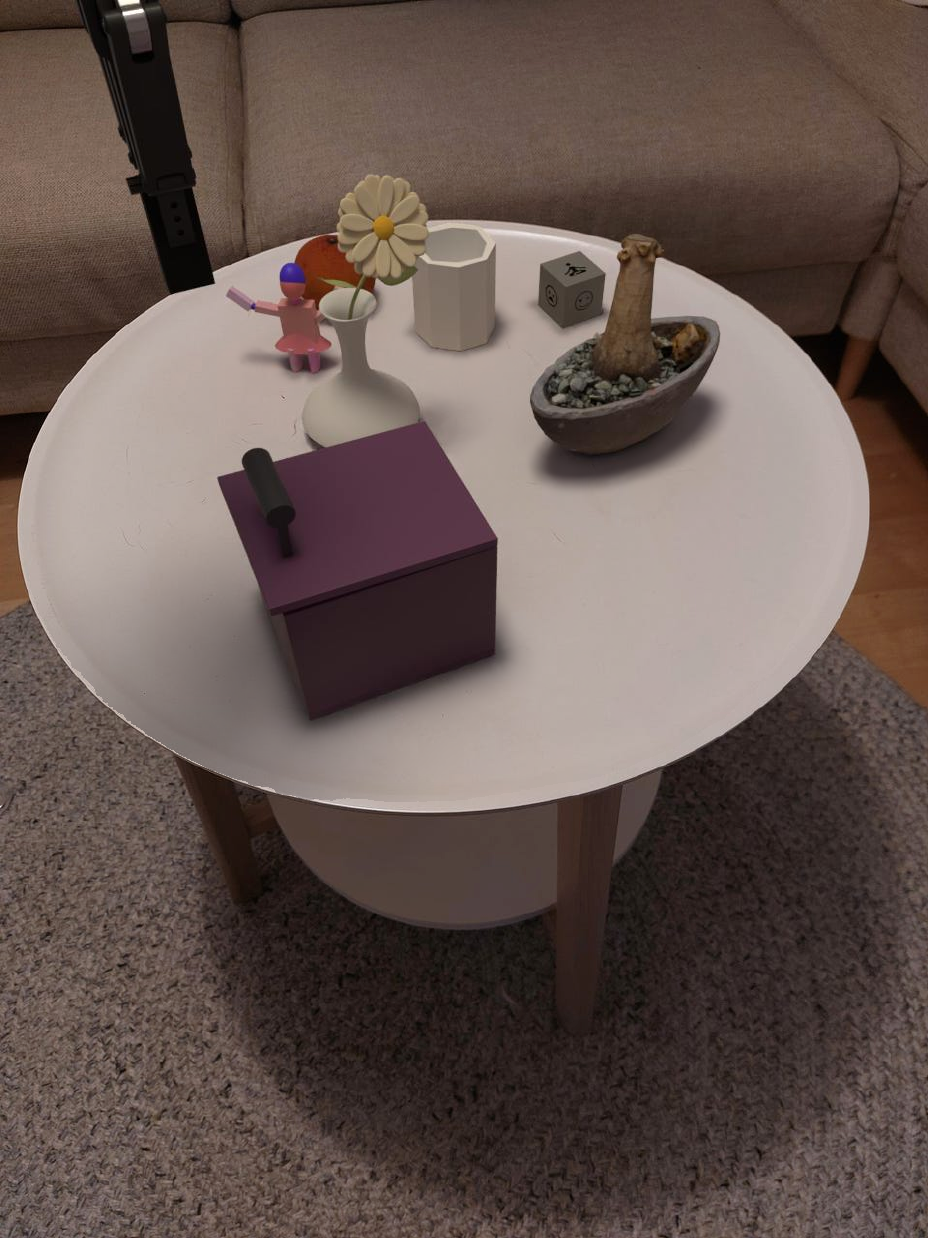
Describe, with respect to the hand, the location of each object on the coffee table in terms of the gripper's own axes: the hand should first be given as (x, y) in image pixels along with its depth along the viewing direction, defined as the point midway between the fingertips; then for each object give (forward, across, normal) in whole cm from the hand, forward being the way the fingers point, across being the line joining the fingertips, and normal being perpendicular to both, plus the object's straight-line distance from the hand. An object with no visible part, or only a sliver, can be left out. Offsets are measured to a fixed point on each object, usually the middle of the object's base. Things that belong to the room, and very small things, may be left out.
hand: (190, 282), depth 58 cm
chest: (+30, +6, +7) cm, 32 cm away
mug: (+31, -31, +29) cm, 53 cm away
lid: (+17, +6, +7) cm, 19 cm away
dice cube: (+31, -27, +42) cm, 58 cm away
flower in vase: (+31, -18, +15) cm, 39 cm away
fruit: (+31, -39, +19) cm, 53 cm away
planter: (+31, -7, +36) cm, 48 cm away
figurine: (+31, -30, +11) cm, 45 cm away
